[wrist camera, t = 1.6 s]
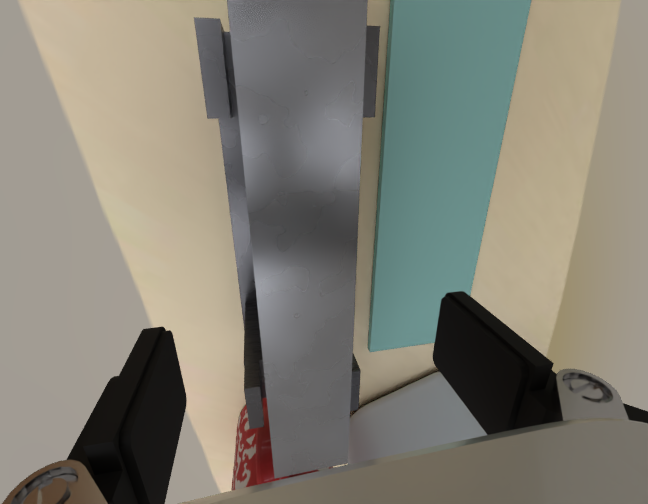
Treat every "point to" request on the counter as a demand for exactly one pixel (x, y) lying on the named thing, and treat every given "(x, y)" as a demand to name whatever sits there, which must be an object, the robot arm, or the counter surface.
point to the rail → (303, 210)
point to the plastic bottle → (411, 421)
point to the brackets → (224, 106)
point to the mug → (255, 453)
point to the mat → (438, 155)
